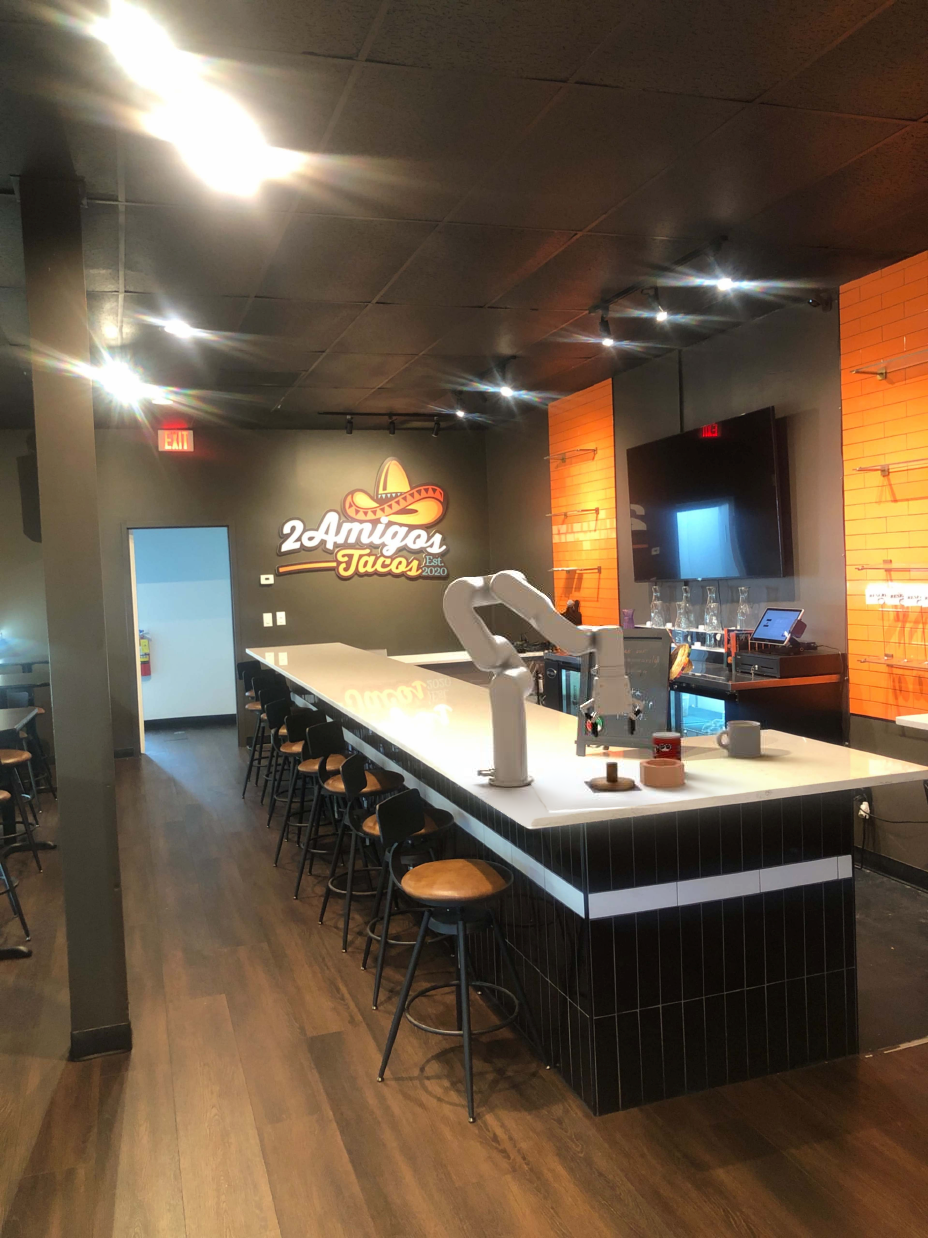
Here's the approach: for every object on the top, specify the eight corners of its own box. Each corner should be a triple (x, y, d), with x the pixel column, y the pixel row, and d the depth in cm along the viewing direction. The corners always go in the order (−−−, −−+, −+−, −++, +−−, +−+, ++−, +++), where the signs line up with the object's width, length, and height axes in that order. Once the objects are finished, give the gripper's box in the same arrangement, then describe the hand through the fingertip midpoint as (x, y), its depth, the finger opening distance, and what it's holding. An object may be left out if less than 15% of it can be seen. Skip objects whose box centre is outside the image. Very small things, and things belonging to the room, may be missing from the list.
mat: (593, 795, 236) (593, 792, 236) (583, 783, 249) (583, 781, 249) (642, 792, 237) (642, 790, 237) (629, 781, 250) (629, 779, 250)
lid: (595, 792, 236) (594, 768, 236) (585, 781, 248) (585, 759, 248) (640, 790, 237) (639, 766, 237) (628, 779, 249) (628, 757, 249)
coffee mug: (757, 752, 284) (756, 720, 284) (763, 758, 274) (763, 725, 274) (713, 752, 286) (713, 721, 285) (718, 758, 276) (718, 726, 275)
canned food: (648, 770, 262) (647, 733, 262) (671, 768, 265) (670, 730, 265) (662, 776, 255) (662, 737, 255) (686, 773, 258) (686, 735, 257)
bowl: (647, 790, 239) (647, 768, 239) (636, 781, 250) (636, 759, 250) (688, 788, 240) (688, 766, 239) (675, 779, 251) (675, 757, 250)
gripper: (581, 675, 237) (584, 739, 238) (646, 671, 238) (648, 735, 239) (575, 672, 244) (578, 735, 245) (638, 668, 246) (641, 731, 246)
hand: (613, 735), depth 242 cm, fingers open, 9 cm apart
